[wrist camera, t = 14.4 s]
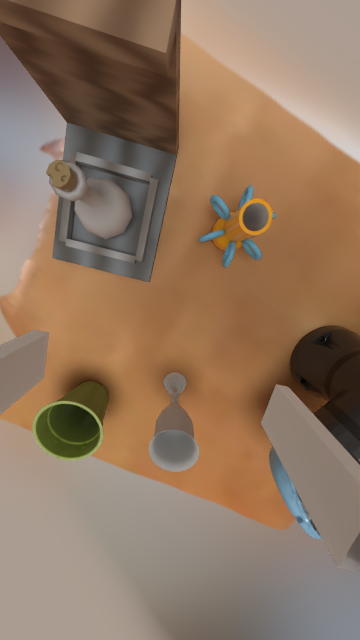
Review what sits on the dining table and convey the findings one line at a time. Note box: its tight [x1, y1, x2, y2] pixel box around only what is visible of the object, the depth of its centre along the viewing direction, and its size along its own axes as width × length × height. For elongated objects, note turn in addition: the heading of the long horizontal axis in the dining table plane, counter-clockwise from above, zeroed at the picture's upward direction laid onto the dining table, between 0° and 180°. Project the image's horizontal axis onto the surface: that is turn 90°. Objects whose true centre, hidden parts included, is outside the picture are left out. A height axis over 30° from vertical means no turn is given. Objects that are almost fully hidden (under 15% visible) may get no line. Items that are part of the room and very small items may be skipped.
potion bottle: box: [46, 160, 132, 239], centre depth 30 cm, size 9×9×18 cm
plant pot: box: [33, 381, 108, 460], centre depth 43 cm, size 12×12×11 cm
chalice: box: [149, 373, 199, 472], centre depth 39 cm, size 7×7×18 cm
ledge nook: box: [0, 0, 181, 282], centre depth 28 cm, size 18×23×23 cm
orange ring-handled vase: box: [199, 185, 276, 268], centre depth 33 cm, size 12×10×15 cm
